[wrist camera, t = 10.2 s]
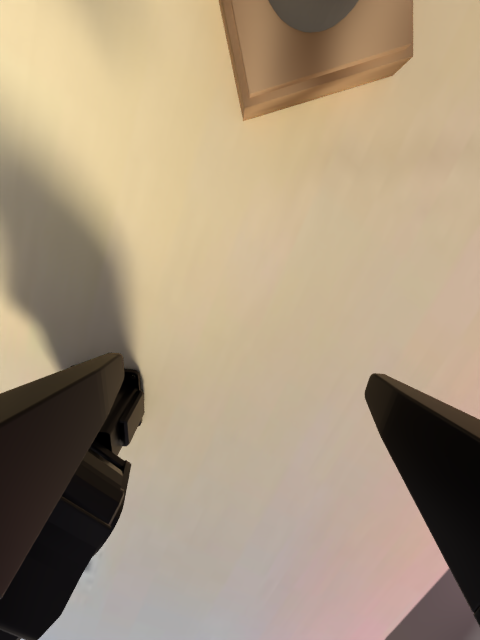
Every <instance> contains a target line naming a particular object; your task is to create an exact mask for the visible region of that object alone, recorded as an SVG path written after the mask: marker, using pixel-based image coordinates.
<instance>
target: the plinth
mask: <svg viewBox="0 0 480 640" xmlns="http://www.w3.org/2000/svg"><path fill="white" fill-rule="evenodd" d="M219 4H220V9H221V13H222V18H223V23H224V28H225V33H226V38H227V43H228V48H229V52H230V57H231V62H232V67H233V72H234V77H235V82H236V87H237V92H238V96H239V101H240V106H241V111H242V116H243V121H245V120H248V119H251V118H255V117H258V116H261V115H264V114H268V113H271V112H274V111H278V110H281V109H284V108H287V107H291V106H294V105H297V104H301V103H304V102H307V101H310V100H314V99H317V98H320V97H323V96H327V95H330V94H333V93H337V92H340V91H343V90H346V89H350V88H353V87H356V86H360V85H363V84H366V83H369V82H373V81H376V80H379V79H383V78H386V77H389V76H392V75H394V74H395V73H396V72H397V71H398V70H399V69H400V68H401V67H402V66H403V65H404V64H405V63H406V62H407V61H408V60H410V59H411V58H412V57H413V0H359V1H358V2H357V4H356V5H355V6H354V8H353V9H352V10H351V11H350V12H349V14H348V15H347V16H346V17H345V18H344V19H342V20H341V21H340V22H338V23H337V24H336V25H335V26H333V27H331V28H329V29H327V30H324V31H320V32H311V33H309V32H303V31H300V30H297V29H294V28H292V27H290V26H289V25H287V24H286V23H285V22H284V21H283V20H281V19H280V17H279V16H278V15H277V14H276V12H275V11H274V9H273V8H272V6H271V4H270V3H269V1H268V0H219Z"/></svg>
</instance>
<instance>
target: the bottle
mask: <svg viewBox="0 0 480 640" xmlns="http://www.w3.org/2000/svg"><path fill="white" fill-rule="evenodd" d="M268 1H269V3H270V4H271V6H272V8H273V9H274V11H275V12H276V14H277V15H278V16H279V17H280V19H281V20H283V21H284V22H285V23H286V24H287V25H289V26H290V27H292V28H294V29H297V30H300V31H303V32H309V33H311V32H320V31H324V30H327V29H329V28H331V27H333V26H335V25H336V24H337V23H338V22H340V21H341V20H342V19H344V18H345V17H346V16H347V15H348V14H349V12H350V11H351V10H352V9H353V8H354V6H355V5H356V4H357V2H358V1H359V0H268Z"/></svg>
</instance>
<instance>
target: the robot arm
mask: <svg viewBox="0 0 480 640" xmlns="http://www.w3.org/2000/svg"><path fill="white" fill-rule="evenodd" d="M132 375H135V376H136V377H134V376H132ZM365 399H366V402H367V404H368V407H369V409H370V412H371V414H372V417H373V419H374V422H375V424H376V427H377V429H378V431H379V434H380V436H381V438H382V440H383V442H384V444H385V446H386V448H387V450H388V452H389V454H390V456H391V457H392V459H393V461H394V463H395V465H396V467H397V469H398V471H399V473H400V475H401V477H402V478H403V480H404V482H405V484H406V486H407V488H408V490H409V492H410V494H411V496H412V498H413V500H414V501H415V503H416V505H417V507H418V509H419V511H420V513H421V515H422V517H423V519H424V521H425V522H426V524H427V526H428V528H429V530H430V532H431V534H432V536H433V538H434V540H435V542H436V544H437V545H438V547H439V549H440V551H441V553H442V555H443V557H444V559H445V561H446V563H447V565H448V566H449V568H450V570H451V572H452V574H453V576H454V578H455V580H456V582H457V584H458V586H459V587H460V589H461V591H462V593H463V595H464V597H465V599H466V601H467V603H468V605H469V606H470V608H471V610H472V612H474V617H475V619H476V620H477V622H478V624H479V626H480V420H479V419H477V418H475V417H473V416H471V415H469V414H467V413H465V412H463V411H460V410H458V409H456V408H454V407H452V406H450V405H448V404H446V403H444V402H442V401H439V400H437V399H435V398H433V397H431V396H429V395H427V394H425V393H423V392H421V391H418V390H416V389H414V388H412V387H410V386H408V385H406V384H404V383H402V382H400V381H397V380H395V379H393V378H391V377H389V376H387V375H385V374H376V373H374V374H372V375H371V376H370V378H369V381H368V384H367V387H366V390H365ZM143 415H144V393H143V392H142V391H141V385H140V373H139V372H138V371H136V370H127V369H124V363H123V356H122V354H119V353H107V354H105V355H102V356H99V357H97V358H94V359H91V360H89V361H86V362H83V363H81V364H78V365H75V366H71V367H70V368H67V369H65V370H62V371H59V372H57V373H54V374H51V375H49V376H46V377H43V378H41V379H38V380H35V381H33V382H30V383H27V384H25V385H22V386H19V387H17V388H14V389H11V390H9V391H6V392H4V393H1V394H0V640H20V639H21V638H22V639H25V640H38V639H39V638H40V637H41V636H42V635H43V634H44V633H45V632H46V630H47V629H48V628H49V627H50V626H51V625H52V624H53V623H54V622H55V621H56V620H57V619H58V618H59V616H60V615H61V614H62V612H63V610H64V608H65V606H66V604H67V602H68V600H69V598H70V596H71V594H72V592H73V591H74V589H75V587H76V585H77V583H78V581H79V579H80V577H81V575H82V573H83V572H84V570H85V568H86V566H87V565H88V563H89V561H90V560H91V558H92V557H93V556H94V555H95V554H96V553H97V552H98V551H99V549H100V548H101V547H102V546H103V544H104V543H105V542H106V540H107V539H108V537H109V536H110V534H111V532H112V531H113V529H114V527H115V525H116V523H117V521H118V519H119V517H120V515H121V512H122V509H123V505H124V500H125V495H126V489H127V484H128V479H129V473H130V468H131V464H130V463H129V462H128V461H126V460H125V461H124V460H122V459H121V458H120V457H118V456H117V455H118V453H119V451H120V449H121V448H122V446H127V445H129V444H130V442H131V440H132V437H133V435H134V433H135V431H136V429H137V427H138V426H140V425H141V423H142V417H143Z"/></svg>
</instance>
